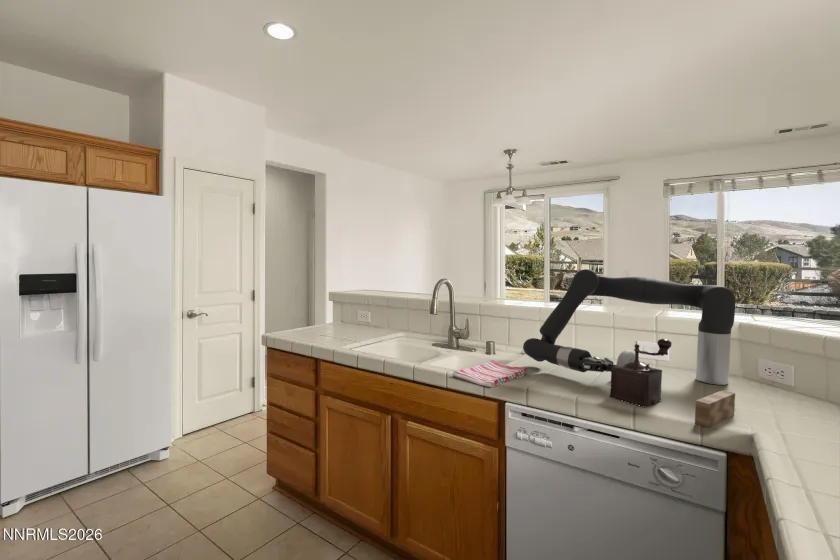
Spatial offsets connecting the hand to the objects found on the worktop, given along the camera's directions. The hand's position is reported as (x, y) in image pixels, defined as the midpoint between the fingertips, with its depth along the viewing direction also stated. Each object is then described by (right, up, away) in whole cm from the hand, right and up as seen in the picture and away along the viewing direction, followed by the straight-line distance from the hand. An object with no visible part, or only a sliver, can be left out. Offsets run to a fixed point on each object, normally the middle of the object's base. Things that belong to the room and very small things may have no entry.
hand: (621, 370), depth 130 cm
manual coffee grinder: (+3, -8, -5) cm, 10 cm away
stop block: (+14, -8, -21) cm, 27 cm away
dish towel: (-38, -6, +16) cm, 42 cm away
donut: (+10, -6, +16) cm, 20 cm away
